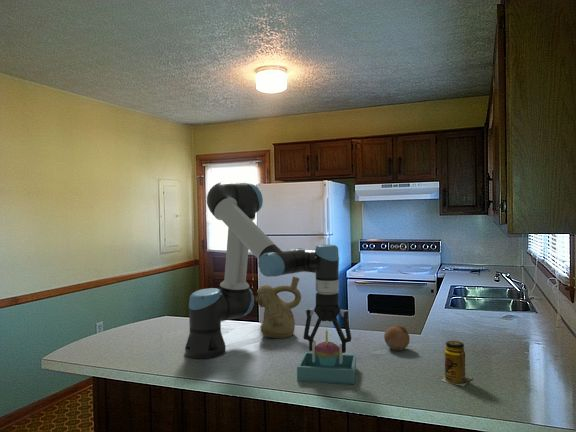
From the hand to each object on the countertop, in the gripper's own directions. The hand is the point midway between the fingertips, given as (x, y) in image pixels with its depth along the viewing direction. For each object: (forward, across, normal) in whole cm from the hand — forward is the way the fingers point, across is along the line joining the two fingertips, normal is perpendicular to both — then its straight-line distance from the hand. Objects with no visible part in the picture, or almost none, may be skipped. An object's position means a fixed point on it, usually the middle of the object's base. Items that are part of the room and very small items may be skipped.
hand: (327, 361), depth 148 cm
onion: (+4, +23, +31) cm, 39 cm away
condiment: (+4, +40, +3) cm, 41 cm away
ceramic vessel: (+5, -26, +42) cm, 50 cm away
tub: (+4, 0, 0) cm, 4 cm away
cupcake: (+1, 0, 0) cm, 1 cm away
